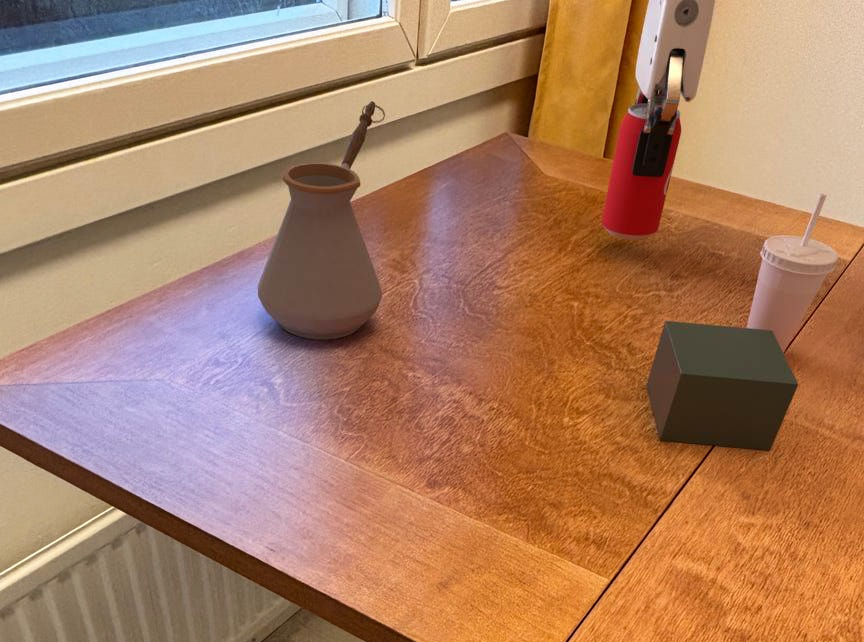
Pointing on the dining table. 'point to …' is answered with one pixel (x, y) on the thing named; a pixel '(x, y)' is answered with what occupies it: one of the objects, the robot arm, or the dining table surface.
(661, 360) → the riser block
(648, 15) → the robot arm
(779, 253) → the smoothie
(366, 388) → the dining table surface
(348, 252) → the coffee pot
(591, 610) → the dining table surface
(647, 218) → the beverage can
